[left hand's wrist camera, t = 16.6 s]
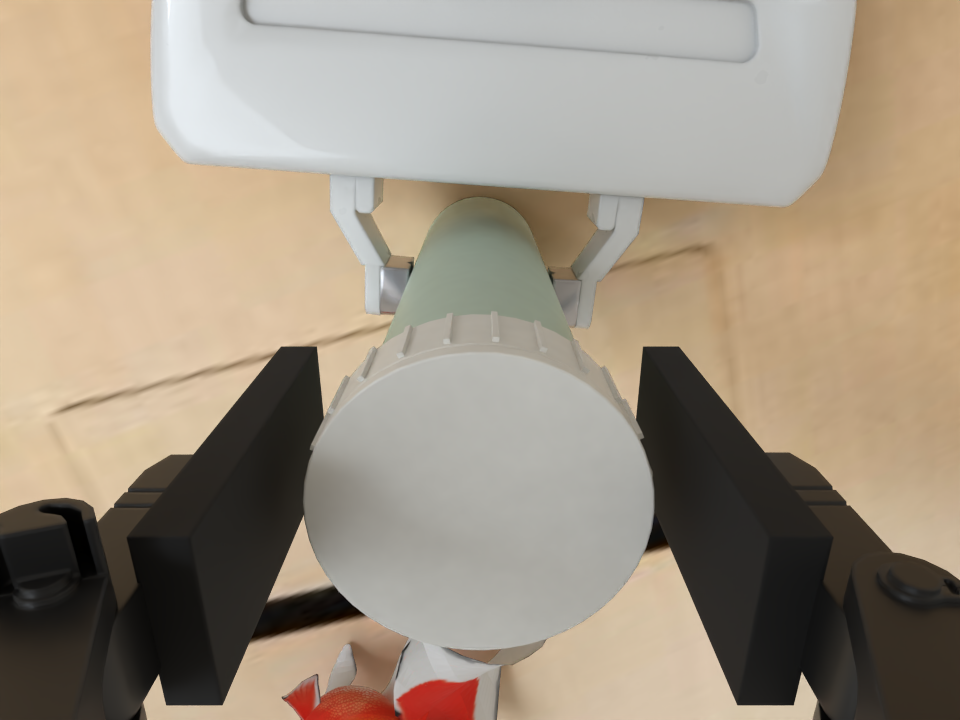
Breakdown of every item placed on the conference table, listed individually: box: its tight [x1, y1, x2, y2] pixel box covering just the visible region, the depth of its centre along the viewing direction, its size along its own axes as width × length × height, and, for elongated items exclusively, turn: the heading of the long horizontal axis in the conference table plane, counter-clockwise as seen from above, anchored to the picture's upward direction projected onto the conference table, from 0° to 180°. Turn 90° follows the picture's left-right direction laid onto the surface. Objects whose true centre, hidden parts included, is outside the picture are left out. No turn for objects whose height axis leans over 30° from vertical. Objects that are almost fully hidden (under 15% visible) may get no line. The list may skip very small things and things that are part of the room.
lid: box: [303, 311, 655, 650], centre depth 11 cm, size 6×6×2 cm
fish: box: [282, 638, 546, 720], centre depth 33 cm, size 11×16×10 cm
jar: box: [383, 197, 574, 344], centre depth 20 cm, size 5×5×19 cm
